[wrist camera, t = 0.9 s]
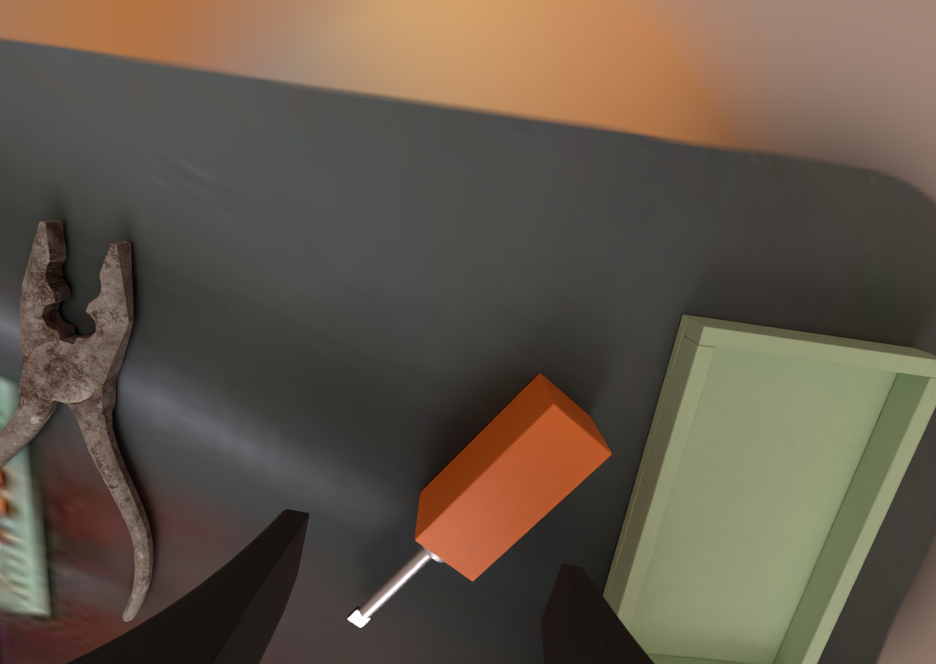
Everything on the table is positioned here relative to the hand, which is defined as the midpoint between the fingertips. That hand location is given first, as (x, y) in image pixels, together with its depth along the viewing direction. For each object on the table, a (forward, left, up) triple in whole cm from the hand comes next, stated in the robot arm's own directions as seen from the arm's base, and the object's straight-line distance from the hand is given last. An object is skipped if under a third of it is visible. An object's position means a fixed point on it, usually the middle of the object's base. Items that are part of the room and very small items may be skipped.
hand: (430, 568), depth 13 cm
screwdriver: (-5, +1, -10) cm, 11 cm away
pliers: (+5, +18, -10) cm, 21 cm away
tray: (-10, -12, -10) cm, 19 cm away
